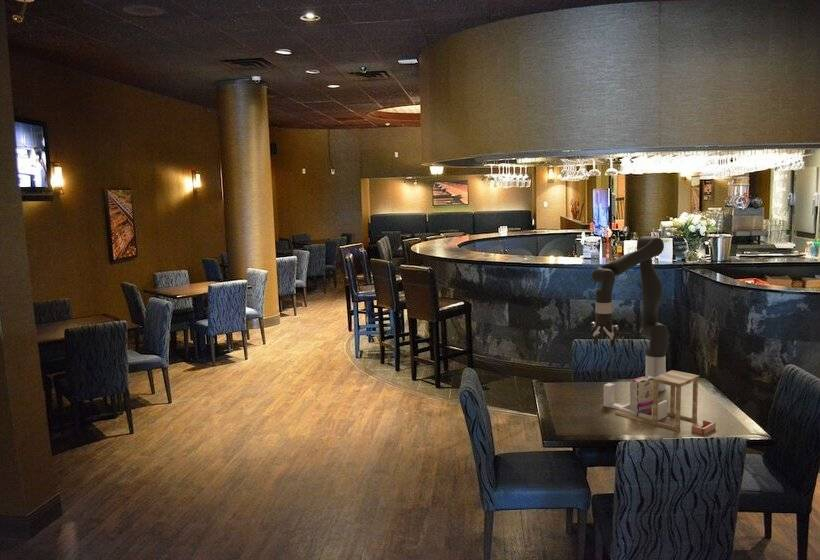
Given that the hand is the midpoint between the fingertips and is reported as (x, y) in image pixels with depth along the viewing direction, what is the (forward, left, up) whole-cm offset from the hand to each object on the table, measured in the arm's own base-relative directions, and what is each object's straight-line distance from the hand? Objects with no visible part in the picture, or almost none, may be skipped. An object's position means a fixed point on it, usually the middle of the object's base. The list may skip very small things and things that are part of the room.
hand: (604, 345), depth 314 cm
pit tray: (+5, +51, -27) cm, 57 cm away
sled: (+5, +18, -26) cm, 32 cm away
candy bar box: (+5, +23, -26) cm, 35 cm away
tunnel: (+5, +29, -27) cm, 40 cm away
